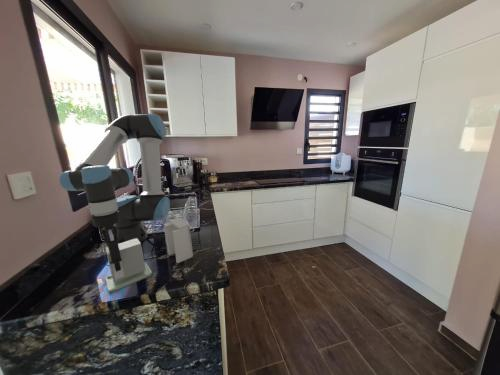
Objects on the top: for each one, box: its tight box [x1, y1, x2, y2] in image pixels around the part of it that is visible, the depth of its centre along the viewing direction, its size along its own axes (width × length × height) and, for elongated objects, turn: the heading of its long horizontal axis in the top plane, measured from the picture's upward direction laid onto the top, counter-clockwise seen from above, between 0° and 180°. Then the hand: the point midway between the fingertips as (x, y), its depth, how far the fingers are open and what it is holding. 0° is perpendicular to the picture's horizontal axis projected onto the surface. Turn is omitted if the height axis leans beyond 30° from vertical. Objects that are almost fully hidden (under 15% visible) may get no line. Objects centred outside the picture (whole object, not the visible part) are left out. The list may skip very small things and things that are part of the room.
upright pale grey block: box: [105, 238, 146, 283], centre depth 71 cm, size 6×10×11 cm, turn 131°
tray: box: [104, 261, 153, 294], centre depth 73 cm, size 10×14×1 cm
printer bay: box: [163, 217, 194, 264], centre depth 85 cm, size 11×7×15 cm, turn 41°
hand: (118, 273), depth 70 cm, fingers closed on upright pale grey block, 6 cm apart
